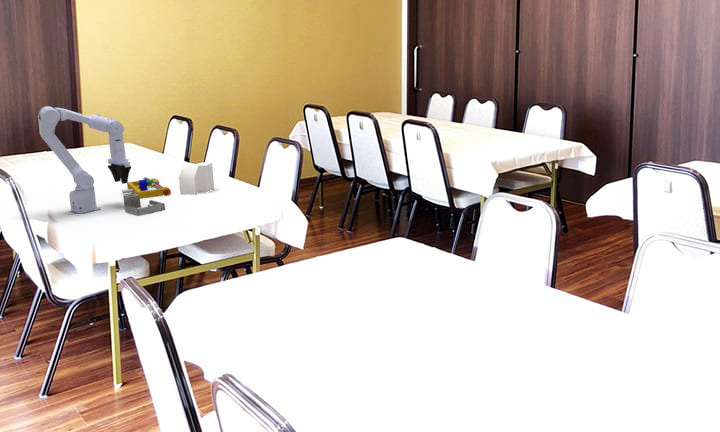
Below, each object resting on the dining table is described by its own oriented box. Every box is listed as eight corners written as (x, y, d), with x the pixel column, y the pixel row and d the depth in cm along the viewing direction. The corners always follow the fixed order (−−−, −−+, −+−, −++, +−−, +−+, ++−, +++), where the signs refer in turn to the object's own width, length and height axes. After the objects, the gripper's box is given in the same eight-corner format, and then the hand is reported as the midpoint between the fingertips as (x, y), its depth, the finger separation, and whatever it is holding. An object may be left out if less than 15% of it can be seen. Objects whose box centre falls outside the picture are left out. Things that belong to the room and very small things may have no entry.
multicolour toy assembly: (154, 170, 362) (170, 182, 336) (156, 184, 364) (172, 196, 338) (114, 175, 354) (127, 187, 328) (115, 189, 356) (129, 202, 330)
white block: (214, 189, 346) (212, 162, 343) (202, 195, 336) (200, 167, 333) (192, 188, 349) (190, 162, 346) (180, 194, 339) (177, 167, 336)
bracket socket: (139, 215, 304) (138, 208, 303) (125, 211, 311) (124, 204, 310) (166, 209, 312) (165, 202, 311) (151, 205, 319) (151, 198, 318)
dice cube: (128, 209, 315) (127, 197, 314) (124, 207, 319) (123, 195, 318) (140, 207, 318) (139, 195, 316) (136, 205, 322) (135, 193, 320)
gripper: (135, 150, 315) (139, 182, 319) (117, 146, 325) (121, 178, 329) (119, 152, 310) (123, 185, 314) (101, 149, 320) (105, 181, 324)
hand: (121, 182), depth 321 cm, fingers open, 5 cm apart
